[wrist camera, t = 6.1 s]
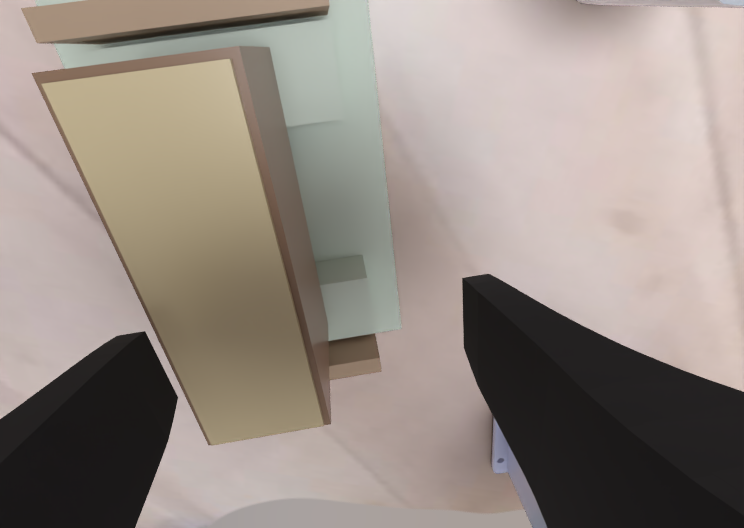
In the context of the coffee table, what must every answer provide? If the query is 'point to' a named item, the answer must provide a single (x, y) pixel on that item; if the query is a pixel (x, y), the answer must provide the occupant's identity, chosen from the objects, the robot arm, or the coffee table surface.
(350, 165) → the display cradle
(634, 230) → the coffee table surface
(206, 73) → the tan rectangular box
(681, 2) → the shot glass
